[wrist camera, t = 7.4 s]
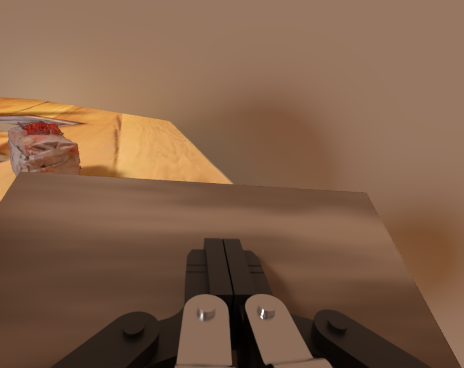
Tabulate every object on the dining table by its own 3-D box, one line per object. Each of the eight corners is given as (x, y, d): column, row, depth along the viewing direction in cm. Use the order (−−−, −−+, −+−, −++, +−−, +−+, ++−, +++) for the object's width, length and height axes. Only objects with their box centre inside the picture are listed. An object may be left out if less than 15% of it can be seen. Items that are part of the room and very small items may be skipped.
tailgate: (624, 668, 7) (366, 192, 18) (-535, 1030, 4) (19, 171, 15) (544, 632, 8) (351, 212, 20) (-330, 862, 5) (33, 197, 16)
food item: (89, 195, 42) (86, 129, 39) (25, 206, 36) (15, 130, 33) (58, 171, 51) (54, 115, 48) (2, 177, 45) (-7, 114, 42)
